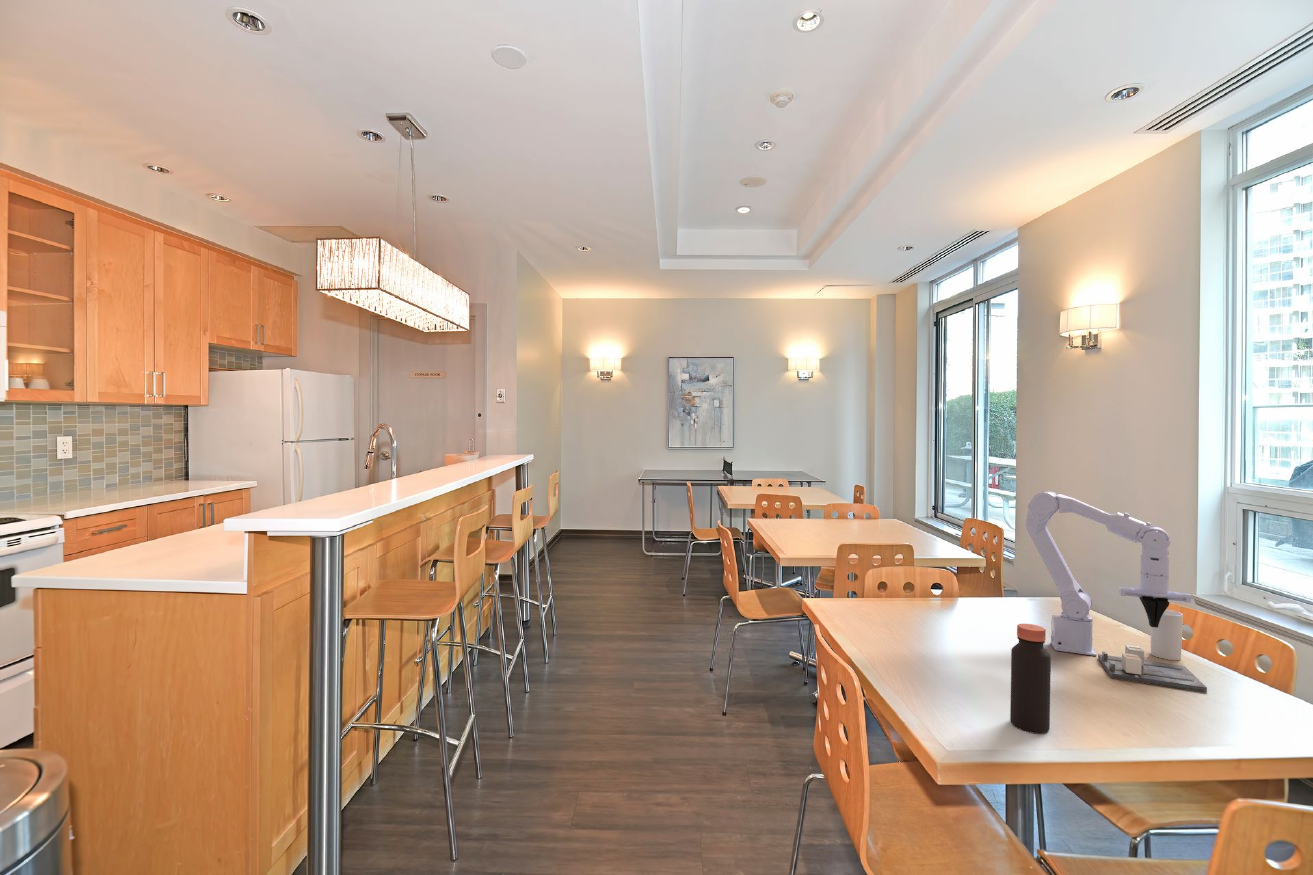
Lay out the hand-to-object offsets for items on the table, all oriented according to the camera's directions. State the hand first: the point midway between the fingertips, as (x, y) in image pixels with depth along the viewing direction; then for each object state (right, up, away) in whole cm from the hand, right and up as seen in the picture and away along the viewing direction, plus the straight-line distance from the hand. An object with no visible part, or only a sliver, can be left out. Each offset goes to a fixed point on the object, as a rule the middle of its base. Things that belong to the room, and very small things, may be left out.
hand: (1153, 626), depth 159 cm
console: (-7, -10, -7) cm, 14 cm away
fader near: (-12, -8, -9) cm, 17 cm away
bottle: (-54, -9, -35) cm, 65 cm away
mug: (+9, -10, +8) cm, 16 cm away
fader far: (-7, -8, -2) cm, 11 cm away
